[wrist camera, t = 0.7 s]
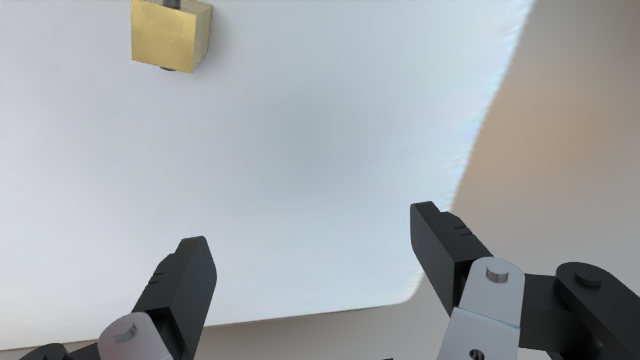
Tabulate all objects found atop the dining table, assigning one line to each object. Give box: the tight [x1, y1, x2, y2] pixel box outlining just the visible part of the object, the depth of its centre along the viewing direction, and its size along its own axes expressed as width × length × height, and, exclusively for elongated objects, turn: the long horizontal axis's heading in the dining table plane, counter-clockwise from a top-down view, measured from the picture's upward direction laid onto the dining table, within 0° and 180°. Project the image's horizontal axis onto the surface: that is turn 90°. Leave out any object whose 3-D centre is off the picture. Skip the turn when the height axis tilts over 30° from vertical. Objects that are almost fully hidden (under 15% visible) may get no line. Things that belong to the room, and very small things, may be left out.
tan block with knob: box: [131, 0, 212, 74], centre depth 26 cm, size 4×5×8 cm
